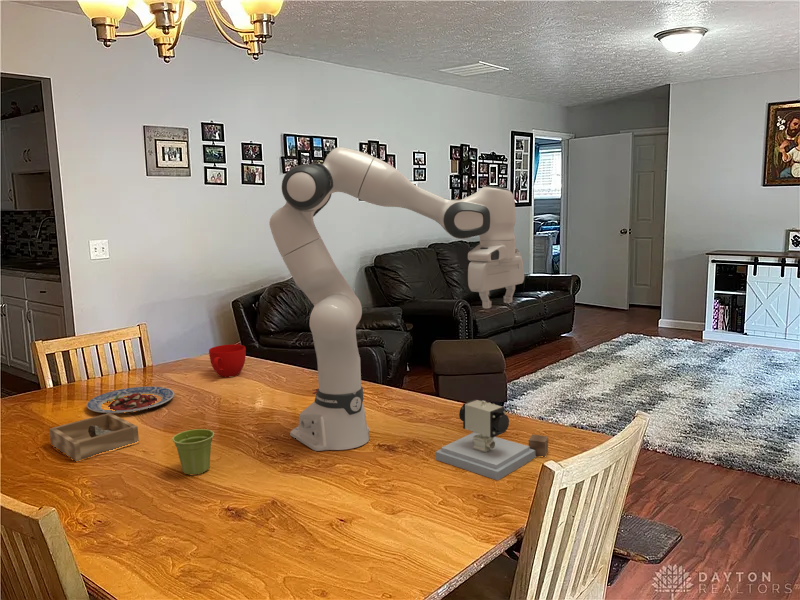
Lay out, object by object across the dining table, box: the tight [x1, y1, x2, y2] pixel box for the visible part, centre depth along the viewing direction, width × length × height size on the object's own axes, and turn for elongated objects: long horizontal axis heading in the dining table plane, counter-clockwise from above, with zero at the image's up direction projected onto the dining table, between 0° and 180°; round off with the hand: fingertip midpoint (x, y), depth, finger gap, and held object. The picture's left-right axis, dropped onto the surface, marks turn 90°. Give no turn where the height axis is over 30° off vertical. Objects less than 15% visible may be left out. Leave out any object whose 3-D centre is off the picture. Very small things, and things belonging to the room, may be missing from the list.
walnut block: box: [528, 434, 549, 458], centre depth 158 cm, size 4×4×4 cm
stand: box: [435, 431, 536, 481], centre depth 155 cm, size 18×16×3 cm
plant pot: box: [171, 428, 215, 475], centre depth 152 cm, size 9×9×9 cm
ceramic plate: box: [86, 385, 175, 414], centre depth 204 cm, size 26×26×3 cm
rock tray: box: [48, 413, 140, 462], centre depth 170 cm, size 17×16×5 cm
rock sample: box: [88, 425, 113, 438], centre depth 170 cm, size 10×8×9 cm
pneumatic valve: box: [458, 398, 510, 453], centre depth 153 cm, size 6×12×12 cm, turn 44°
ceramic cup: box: [208, 343, 247, 378], centre depth 233 cm, size 13×17×10 cm
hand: (497, 305), depth 164 cm, fingers open, 8 cm apart
